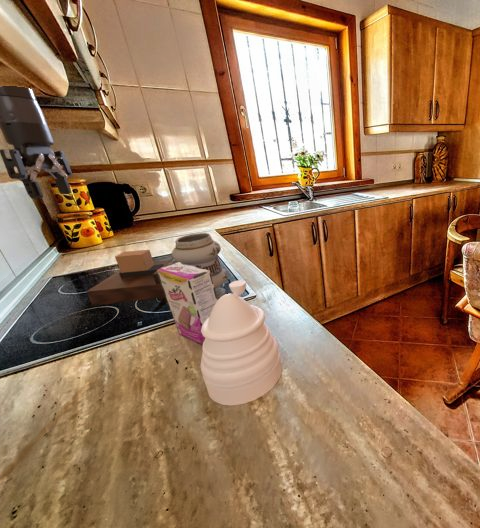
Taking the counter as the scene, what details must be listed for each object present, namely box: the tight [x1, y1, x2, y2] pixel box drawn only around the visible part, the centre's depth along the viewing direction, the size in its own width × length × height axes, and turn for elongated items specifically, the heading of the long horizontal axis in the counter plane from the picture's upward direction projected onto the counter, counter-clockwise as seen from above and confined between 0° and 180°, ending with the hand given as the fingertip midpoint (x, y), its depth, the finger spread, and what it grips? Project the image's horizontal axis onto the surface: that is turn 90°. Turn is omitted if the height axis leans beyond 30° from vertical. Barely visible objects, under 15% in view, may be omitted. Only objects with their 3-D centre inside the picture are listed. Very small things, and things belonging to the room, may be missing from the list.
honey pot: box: [199, 279, 283, 406], centre depth 47 cm, size 13×13×18 cm
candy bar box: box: [157, 262, 218, 346], centre depth 59 cm, size 11×5×16 cm, turn 61°
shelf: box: [86, 257, 178, 306], centre depth 83 cm, size 18×20×9 cm
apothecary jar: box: [171, 232, 229, 300], centre depth 77 cm, size 12×12×18 cm
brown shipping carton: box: [114, 249, 164, 278], centre depth 82 cm, size 10×5×6 cm, turn 100°
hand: (52, 195), depth 68 cm, fingers open, 8 cm apart
